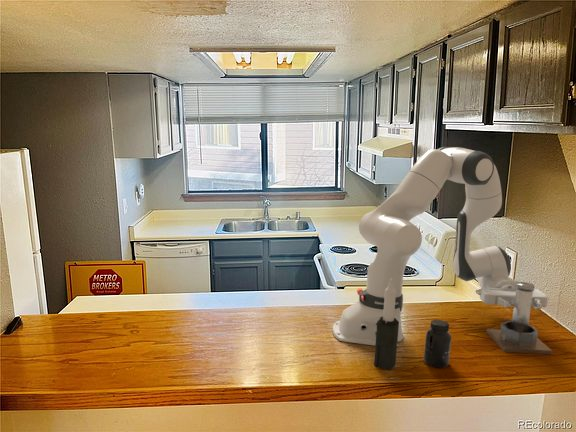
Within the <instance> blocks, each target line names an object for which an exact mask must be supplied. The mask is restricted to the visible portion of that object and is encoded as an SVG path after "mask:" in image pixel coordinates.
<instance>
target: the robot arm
mask: <svg viewBox="0 0 576 432" xmlns="http://www.w3.org/2000/svg"><path fill="white" fill-rule="evenodd" d="M447 180H448V181H451V182H454V183H457V184H463V185H464V186H465V187H464V189H465V202H464V206H463V208H462V209H461V210H460V211H459V213H458V214H457V217H456V218H457V219H456V229H455V241H454V242H455V243H454V244H455V246H454V254H453V259H452V267H453V268H452V269H453V272H454V274H455V276H456V278H459V279H460V280H463V281H465V282H469V281H472V280H475V279H476V280H477V282H478V284H479V286H480V288H479V289H476V290H475V293H476V294H477V295H478V296H479V298H480V300H481V302H482V303H483V304H484V305H493V306H501V307H504V308H505V309H506V308H508V309H511V307H512V306H513V307H514V303H515V295H516V283H517V282H519V280H515V279H512V278H511V279H510V278H509V276H510V274H511V271H512V264H511V263H512V262H511V259H510V257H509V254H508V253H507V252H506V251H505V250H504V249H503V248H502V247H500V246H498V245H492V246H488V247H483V248H480V249H475V250H471V251H470V248H471V247H470V246H471V235H472V233H473V232H474V231H475V230H476V229H477V228H478V227H479V226H480V225H482V224H483V223H485V222H486V221H489V220H491V219H492V218H493V217H495V215H497V213H498V212H500V210H501V209H502V205H503V195H502V194H503V193H502V185H501V180H500V175H499V172H498V169H497V167H496V165H495V163H494V161H493V159H492V157H491V156H490V155H489V154H488V153H486V152H483V151H480V150H472V149H469V148H465V147H458V146H456V147H452V146H442V147H439V148H437V149H429V150H427V151H426V152H425V153H424V154H423V155H422V156H420V157H419V158H418V160H417V161H416V162H414V164H413V166H412V167H411V169H410V170H409V171H408V172H407V174H406V175H405V177H404V178H403V180H402V181H401V182H400V183H399V185H398V186H397V188H396V189H395V190H394V191H393V193H392V194H391V195H390V196H389V197H388V198H387V199H386V200H384V201H383V202H382V203H381V204H380V205H378V207H376V208H375V209H373V210H371V211H369V212H367V213H365V214H364V215H363V216H362V217H361V218H360V221H359V223H358V231H359V233H360V235H361V237H362V238H363V239H364V240H365V241H366V242H367V243H368V244H371V245H373V246H375V247H376V248H377V252H376V255H375V258H374V260H373V262H371V263H370V264H369V265H368V267H367V275H366V287H365V289H364V290H363V288H361V287H358V288H357V289H356V293H357V295H358V301H356V302H355V303H353V304H352V305H350V306H348V307H346V308H344V309H343V311H342V314H341V316H340V319H339V320H337V321H335V322H334V324H333V325H332V333H333V335H334V337H335V339H337V340H338V341H339V342H345V343H354V344H360V345H369V346H373V347H374V346H375V344H376V331H377V321H378V320H380V317H382V316H383V311H384V298H385V290H386V288H387V287H388V285H389V283H390V279H393V286H394V289H395V290H396V299H395V311H394V318H395V319H396V320H397V321H399V328H398V340H397V343H398V342H401V341H402V340H403V339H404V332H403V327H402V310H403V303H404V295H403V294H402V293H403V284H404V283H403V282H404V274H405V271H406V270H405V269H406V267H407V264H408V262H409V259H410V258H411V256H412V255H415V254H416V253H417V252H418V250H419V249H420V247H421V245H422V240H423V235H422V233H421V231H420V229H419V227H417V225H415V224H414V223H412V222H411V221H412V219H414V218H415V217H417V216H419V215H422V214H423V213H425V212H426V211H427V209H428V208H429V207H430V205H431V204H432V202H433V200H435V198H436V197H437V195H438V194H439V193H440V191H441V189H442V188H443V186H444V184H445V183H446V181H447ZM548 301H549V297H548V295H547V294H546V293H544V292H543V291H541V290H540V289H537V288H535V287H534V291H533V295H532V302H531V308H533V309H535V310H542V309H543V308H546V307H547V306H548V303H549V302H548Z"/></svg>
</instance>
